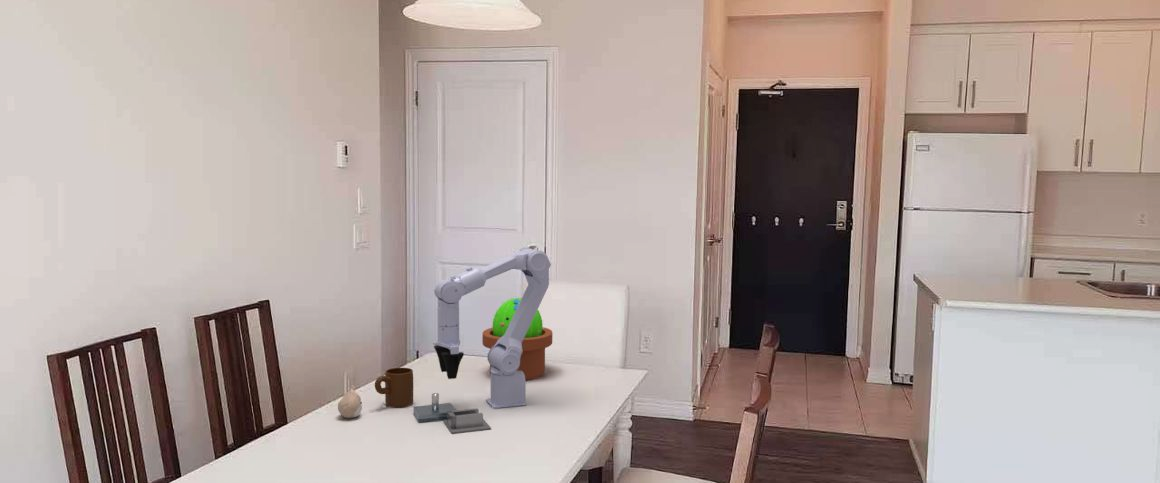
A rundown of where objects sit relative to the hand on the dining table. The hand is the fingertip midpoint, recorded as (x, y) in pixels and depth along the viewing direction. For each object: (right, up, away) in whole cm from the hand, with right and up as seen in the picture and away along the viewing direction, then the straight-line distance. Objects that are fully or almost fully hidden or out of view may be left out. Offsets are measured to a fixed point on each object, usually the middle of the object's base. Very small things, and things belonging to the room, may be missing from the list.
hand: (448, 374), depth 212 cm
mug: (-16, -10, +5) cm, 19 cm away
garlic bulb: (-25, -10, -5) cm, 27 cm away
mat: (+6, -11, -11) cm, 17 cm away
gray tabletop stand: (+6, -11, -11) cm, 17 cm away
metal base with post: (-3, -10, -4) cm, 11 cm away
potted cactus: (+15, -7, +40) cm, 43 cm away
